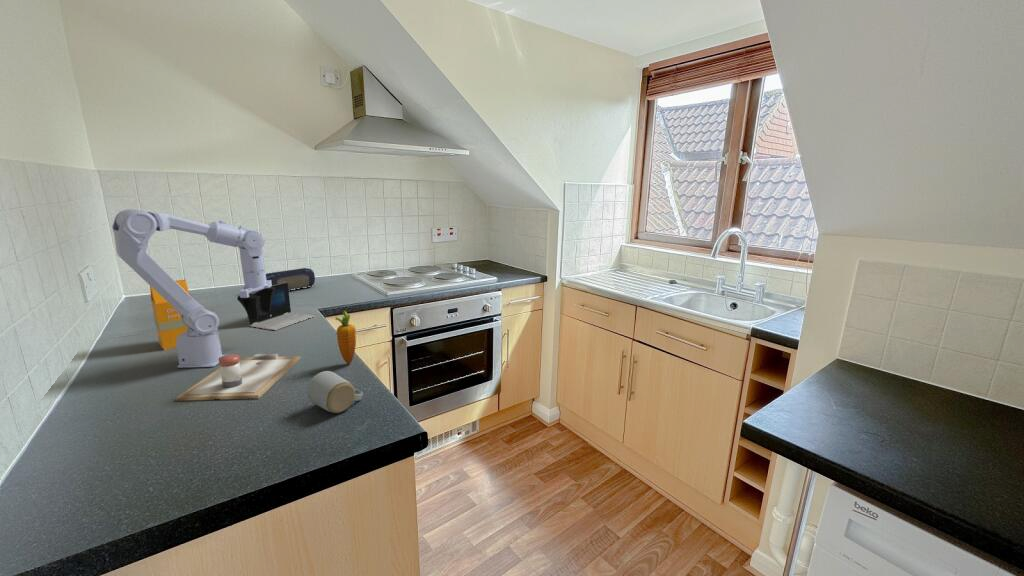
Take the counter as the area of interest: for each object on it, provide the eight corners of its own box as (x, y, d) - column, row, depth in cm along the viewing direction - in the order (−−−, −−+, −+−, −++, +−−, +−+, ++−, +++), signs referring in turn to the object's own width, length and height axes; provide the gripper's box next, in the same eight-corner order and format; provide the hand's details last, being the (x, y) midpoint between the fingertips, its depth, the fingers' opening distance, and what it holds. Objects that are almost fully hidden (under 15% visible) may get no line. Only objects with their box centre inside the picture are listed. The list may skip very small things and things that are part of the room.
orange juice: (198, 343, 134) (188, 281, 129) (163, 350, 127) (151, 285, 123) (193, 337, 139) (183, 277, 134) (158, 344, 133) (147, 281, 128)
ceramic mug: (328, 420, 89) (326, 386, 88) (307, 408, 94) (304, 376, 92) (371, 401, 98) (369, 370, 96) (349, 391, 102) (347, 362, 101)
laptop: (275, 331, 146) (270, 295, 143) (248, 327, 150) (243, 291, 147) (315, 317, 162) (312, 284, 159) (290, 314, 166) (286, 281, 163)
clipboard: (177, 400, 97) (175, 393, 97) (235, 360, 120) (234, 354, 120) (258, 398, 98) (257, 391, 98) (300, 358, 122) (300, 352, 121)
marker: (218, 388, 101) (214, 360, 100) (228, 380, 105) (224, 354, 104) (236, 387, 101) (232, 360, 100) (245, 380, 105) (242, 354, 104)
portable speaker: (267, 297, 191) (264, 275, 189) (257, 294, 197) (254, 273, 195) (320, 287, 211) (318, 268, 209) (309, 285, 217) (307, 265, 215)
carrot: (352, 368, 115) (347, 315, 112) (335, 367, 116) (330, 314, 113) (361, 361, 120) (357, 310, 117) (346, 360, 121) (341, 309, 118)
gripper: (255, 275, 118) (262, 321, 121) (279, 266, 132) (284, 307, 135) (228, 276, 118) (236, 322, 121) (255, 266, 132) (261, 308, 135)
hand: (260, 314), depth 128 cm, fingers open, 7 cm apart
